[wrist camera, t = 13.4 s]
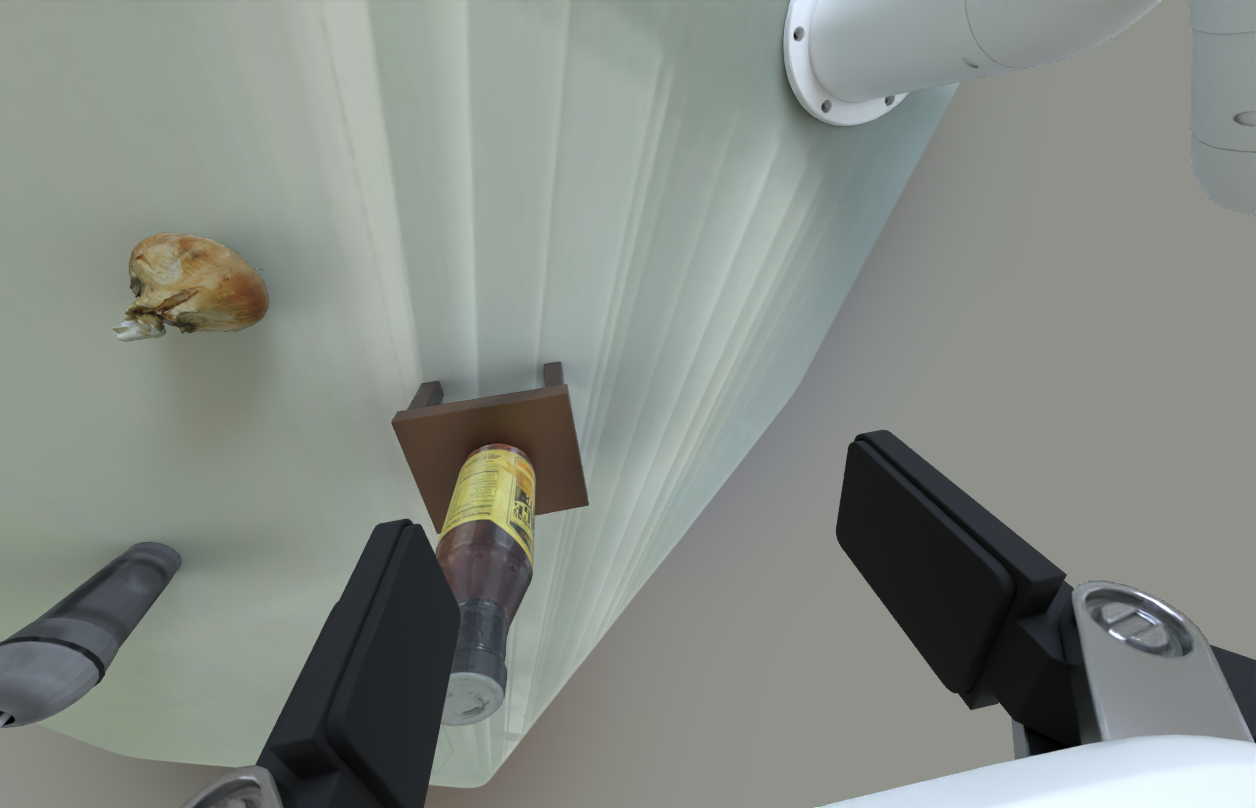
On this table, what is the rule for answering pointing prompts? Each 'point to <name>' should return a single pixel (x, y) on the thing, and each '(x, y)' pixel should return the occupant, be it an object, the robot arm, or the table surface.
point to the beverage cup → (80, 635)
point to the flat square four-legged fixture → (494, 441)
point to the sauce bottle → (486, 573)
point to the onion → (190, 288)
